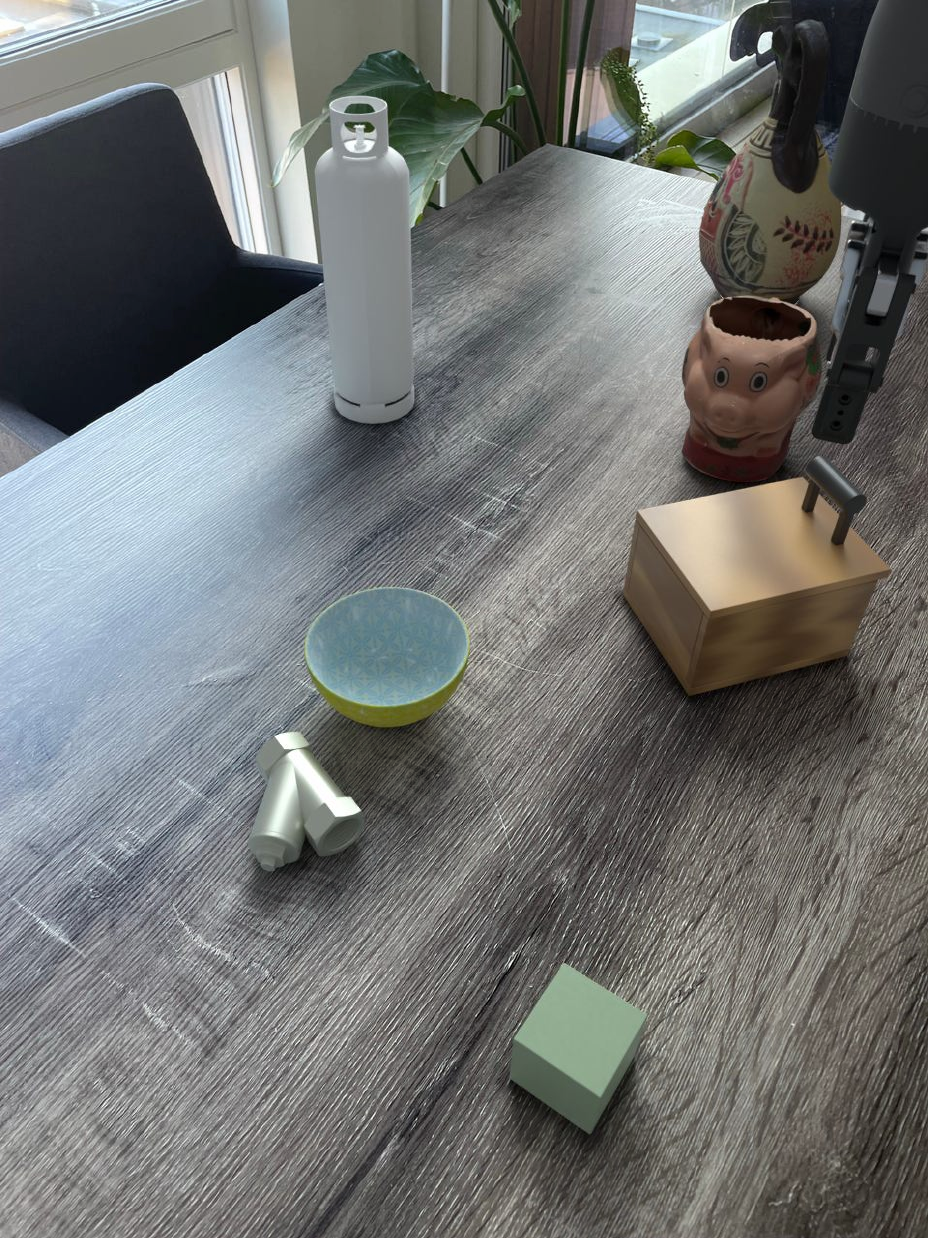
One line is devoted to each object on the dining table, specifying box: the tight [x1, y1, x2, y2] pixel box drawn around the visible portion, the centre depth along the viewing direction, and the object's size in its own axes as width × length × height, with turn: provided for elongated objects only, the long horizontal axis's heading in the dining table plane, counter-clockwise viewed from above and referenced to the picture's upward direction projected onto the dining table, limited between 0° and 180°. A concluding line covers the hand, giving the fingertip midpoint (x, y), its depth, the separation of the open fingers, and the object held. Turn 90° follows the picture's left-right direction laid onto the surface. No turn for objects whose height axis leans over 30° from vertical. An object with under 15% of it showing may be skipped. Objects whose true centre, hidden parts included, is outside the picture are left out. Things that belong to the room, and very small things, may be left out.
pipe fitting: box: [247, 731, 366, 872], centre depth 64 cm, size 8×4×7 cm
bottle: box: [313, 95, 415, 425], centre depth 92 cm, size 8×8×28 cm
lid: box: [635, 455, 892, 619], centre depth 72 cm, size 14×12×5 cm
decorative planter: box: [681, 296, 823, 483], centre depth 92 cm, size 20×12×14 cm, turn 162°
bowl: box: [303, 586, 471, 728], centre depth 70 cm, size 11×12×6 cm
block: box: [508, 962, 648, 1135], centre depth 52 cm, size 5×5×5 cm
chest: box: [622, 519, 879, 697], centre depth 76 cm, size 14×12×8 cm
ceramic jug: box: [698, 19, 842, 306], centre depth 107 cm, size 17×15×30 cm
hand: (837, 399), depth 58 cm, fingers open, 8 cm apart
